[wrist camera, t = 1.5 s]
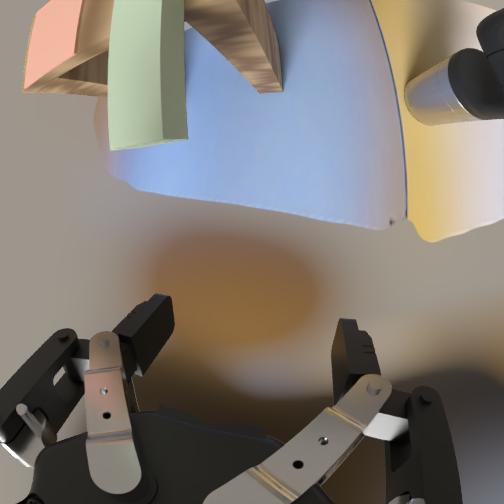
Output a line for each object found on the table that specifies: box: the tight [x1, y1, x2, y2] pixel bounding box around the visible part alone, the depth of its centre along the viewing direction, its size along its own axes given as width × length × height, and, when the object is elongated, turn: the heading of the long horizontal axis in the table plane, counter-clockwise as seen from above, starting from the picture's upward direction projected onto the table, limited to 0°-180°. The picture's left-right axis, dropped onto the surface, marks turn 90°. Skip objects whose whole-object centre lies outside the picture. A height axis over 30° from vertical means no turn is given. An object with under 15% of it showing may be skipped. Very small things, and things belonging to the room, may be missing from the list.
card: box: [24, 0, 85, 89], centre depth 12 cm, size 8×10×1 cm
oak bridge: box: [22, 0, 283, 98], centre depth 26 cm, size 22×10×32 cm, turn 93°
